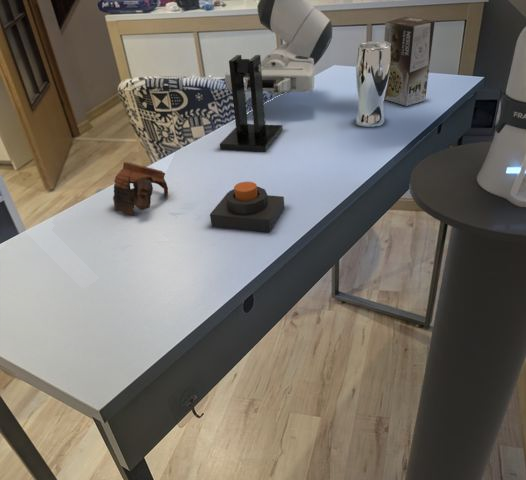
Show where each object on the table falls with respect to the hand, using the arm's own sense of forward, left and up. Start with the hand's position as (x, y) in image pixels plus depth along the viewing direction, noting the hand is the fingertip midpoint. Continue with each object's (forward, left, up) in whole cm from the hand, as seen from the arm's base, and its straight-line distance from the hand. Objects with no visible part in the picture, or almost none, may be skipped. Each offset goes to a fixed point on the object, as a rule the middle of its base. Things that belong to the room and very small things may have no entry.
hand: (260, 88), depth 111 cm
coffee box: (-28, -21, -8) cm, 36 cm away
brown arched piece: (+9, +40, -8) cm, 42 cm away
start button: (-11, +41, -4) cm, 42 cm away
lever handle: (0, +4, +2) cm, 5 cm away
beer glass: (-23, -5, -8) cm, 25 cm away
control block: (-11, +41, -8) cm, 43 cm away
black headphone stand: (0, +8, -8) cm, 11 cm away
